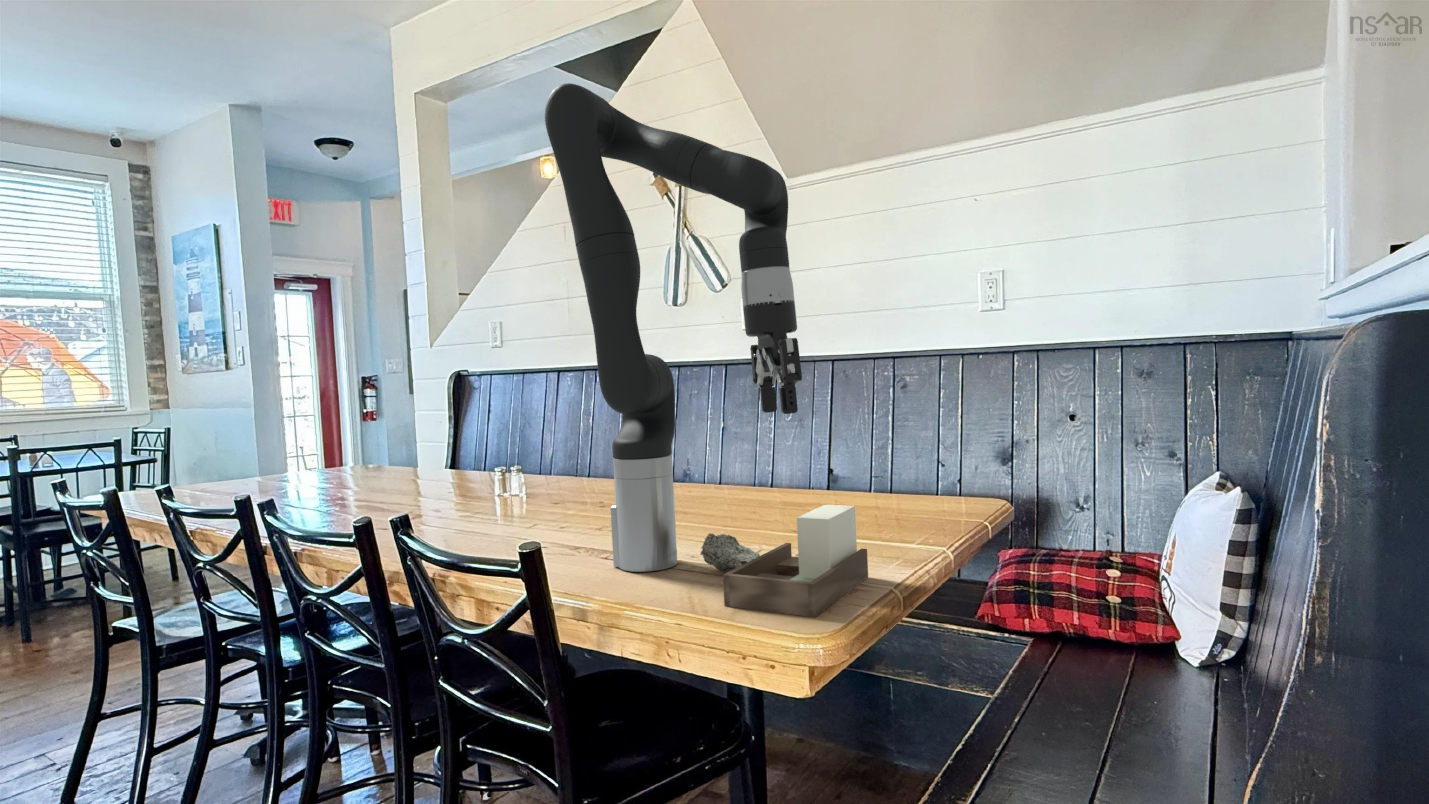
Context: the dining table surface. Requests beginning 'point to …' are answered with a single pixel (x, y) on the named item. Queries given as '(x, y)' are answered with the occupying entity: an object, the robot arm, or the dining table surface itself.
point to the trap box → (791, 583)
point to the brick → (825, 538)
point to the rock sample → (725, 552)
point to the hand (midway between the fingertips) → (779, 412)
